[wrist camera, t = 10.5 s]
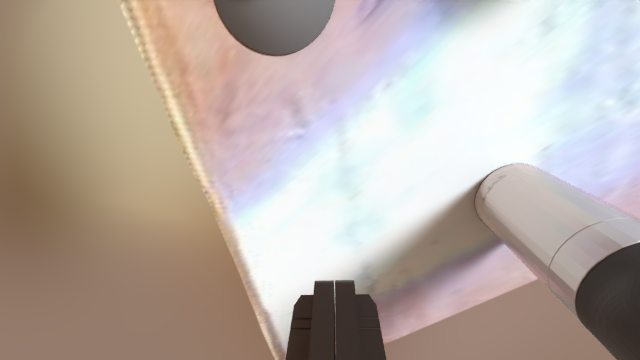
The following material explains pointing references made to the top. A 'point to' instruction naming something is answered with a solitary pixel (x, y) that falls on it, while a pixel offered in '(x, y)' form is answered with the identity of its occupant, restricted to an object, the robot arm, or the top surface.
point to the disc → (275, 22)
